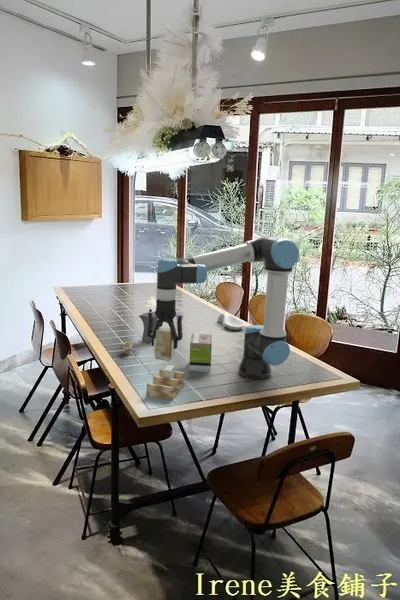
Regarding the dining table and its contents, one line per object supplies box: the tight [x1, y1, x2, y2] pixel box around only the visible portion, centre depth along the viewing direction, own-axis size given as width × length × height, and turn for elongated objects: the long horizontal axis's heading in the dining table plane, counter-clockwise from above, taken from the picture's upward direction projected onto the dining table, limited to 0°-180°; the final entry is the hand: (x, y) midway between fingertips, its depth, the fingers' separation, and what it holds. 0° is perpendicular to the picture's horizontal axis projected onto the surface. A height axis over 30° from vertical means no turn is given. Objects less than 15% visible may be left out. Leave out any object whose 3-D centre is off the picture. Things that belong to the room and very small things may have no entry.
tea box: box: [188, 333, 213, 374], centre depth 223 cm, size 15×10×15 cm, turn 178°
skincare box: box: [154, 327, 174, 362], centre depth 186 cm, size 6×4×12 cm
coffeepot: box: [138, 309, 164, 344], centre depth 259 cm, size 15×9×18 cm, turn 118°
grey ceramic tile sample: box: [163, 364, 176, 379], centre depth 198 cm, size 3×6×8 cm, turn 167°
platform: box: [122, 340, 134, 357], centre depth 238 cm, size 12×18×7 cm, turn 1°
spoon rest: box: [217, 312, 245, 331], centre depth 297 cm, size 24×12×7 cm, turn 28°
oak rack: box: [146, 369, 186, 401], centre depth 194 cm, size 11×17×6 cm, turn 167°
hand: (164, 354), depth 187 cm, fingers closed on skincare box, 6 cm apart
